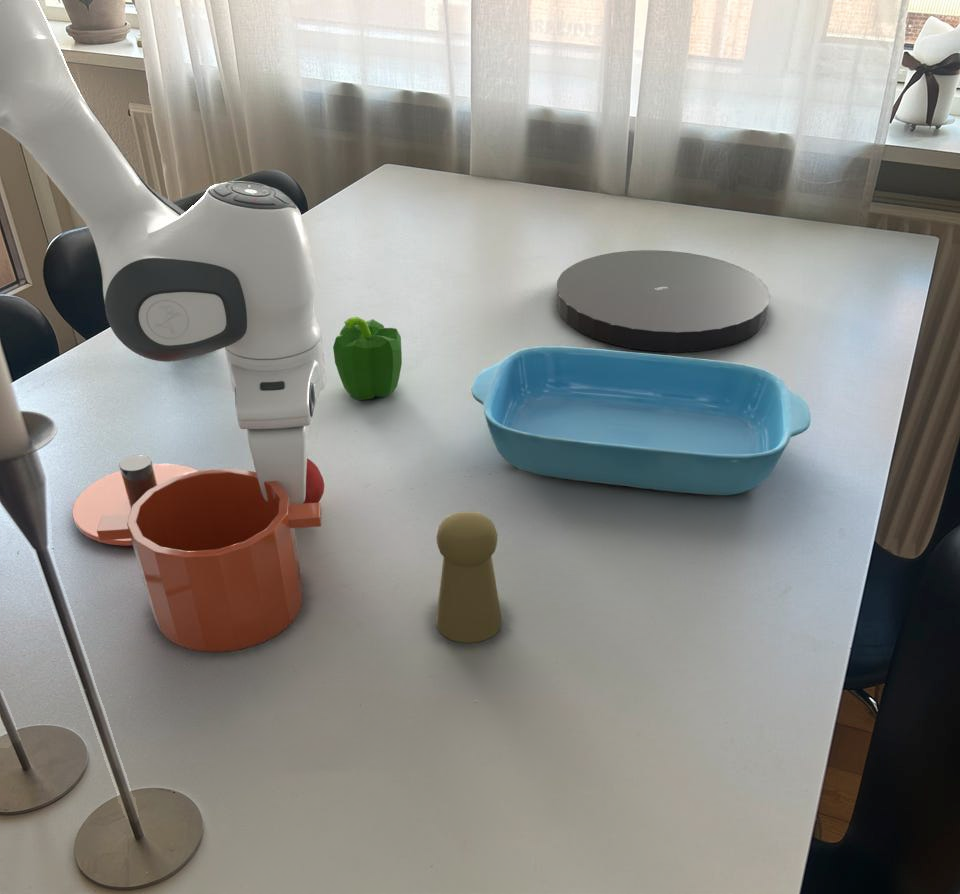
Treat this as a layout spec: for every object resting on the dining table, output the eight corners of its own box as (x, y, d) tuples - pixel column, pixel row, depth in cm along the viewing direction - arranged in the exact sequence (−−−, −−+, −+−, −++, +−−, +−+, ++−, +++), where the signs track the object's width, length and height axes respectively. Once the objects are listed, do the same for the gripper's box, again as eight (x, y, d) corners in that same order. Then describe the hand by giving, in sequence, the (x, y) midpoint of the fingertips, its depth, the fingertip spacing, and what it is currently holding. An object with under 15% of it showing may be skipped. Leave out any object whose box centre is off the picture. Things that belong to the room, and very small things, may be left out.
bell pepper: (394, 372, 129) (389, 296, 122) (411, 400, 123) (407, 322, 117) (330, 382, 127) (322, 305, 121) (345, 411, 121) (336, 333, 115)
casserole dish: (794, 417, 119) (807, 361, 115) (802, 522, 103) (817, 461, 98) (492, 391, 125) (492, 336, 120) (453, 486, 108) (452, 427, 104)
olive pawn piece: (514, 615, 92) (516, 515, 85) (478, 651, 88) (476, 550, 81) (460, 592, 94) (457, 493, 87) (422, 627, 91) (416, 527, 83)
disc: (659, 254, 160) (661, 234, 158) (810, 314, 142) (814, 293, 140) (513, 300, 146) (513, 280, 144) (660, 374, 128) (663, 352, 126)
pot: (331, 644, 89) (317, 548, 82) (113, 659, 88) (81, 563, 81) (332, 554, 99) (320, 462, 92) (137, 567, 98) (110, 474, 91)
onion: (261, 515, 105) (248, 447, 99) (306, 494, 107) (296, 428, 102) (292, 538, 101) (281, 470, 96) (338, 516, 104) (330, 449, 99)
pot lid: (211, 545, 100) (200, 497, 97) (61, 555, 99) (44, 507, 96) (224, 468, 111) (215, 423, 108) (89, 476, 110) (75, 430, 107)
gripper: (251, 323, 101) (270, 444, 110) (234, 422, 86) (258, 553, 95) (313, 320, 101) (328, 441, 110) (308, 418, 86) (325, 549, 95)
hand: (296, 493), depth 102 cm, fingers closed on onion, 6 cm apart
